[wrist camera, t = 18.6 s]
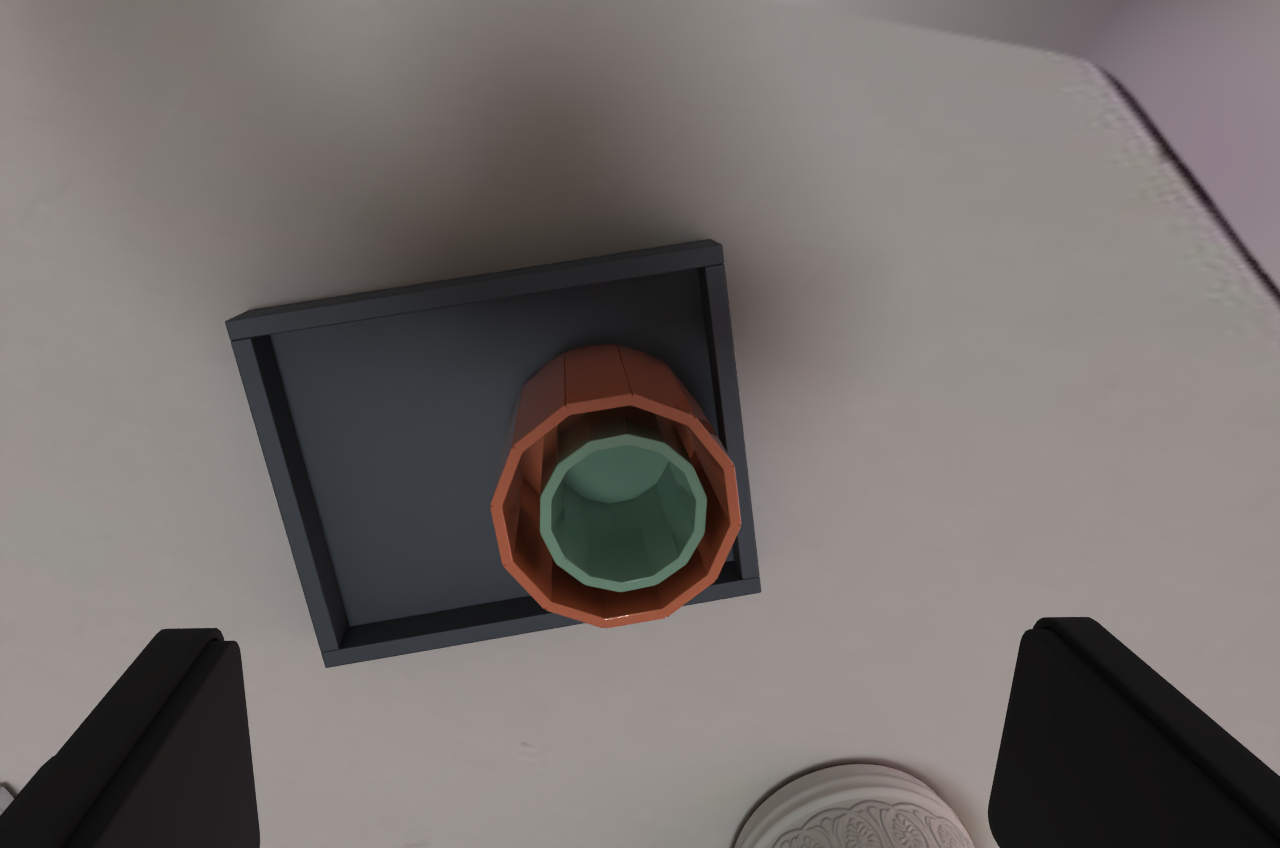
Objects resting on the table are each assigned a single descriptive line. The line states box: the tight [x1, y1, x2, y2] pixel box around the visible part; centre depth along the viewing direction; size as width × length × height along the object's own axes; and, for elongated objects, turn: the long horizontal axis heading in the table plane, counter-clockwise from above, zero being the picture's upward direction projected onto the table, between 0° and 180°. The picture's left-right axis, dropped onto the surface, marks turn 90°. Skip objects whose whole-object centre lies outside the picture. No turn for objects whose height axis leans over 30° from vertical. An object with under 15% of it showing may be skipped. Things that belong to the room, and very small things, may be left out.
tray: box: [225, 239, 761, 668], centre depth 37 cm, size 16×20×3 cm
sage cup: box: [540, 405, 707, 592], centre depth 33 cm, size 6×6×8 cm
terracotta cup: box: [490, 344, 741, 628], centre depth 34 cm, size 8×8×9 cm
